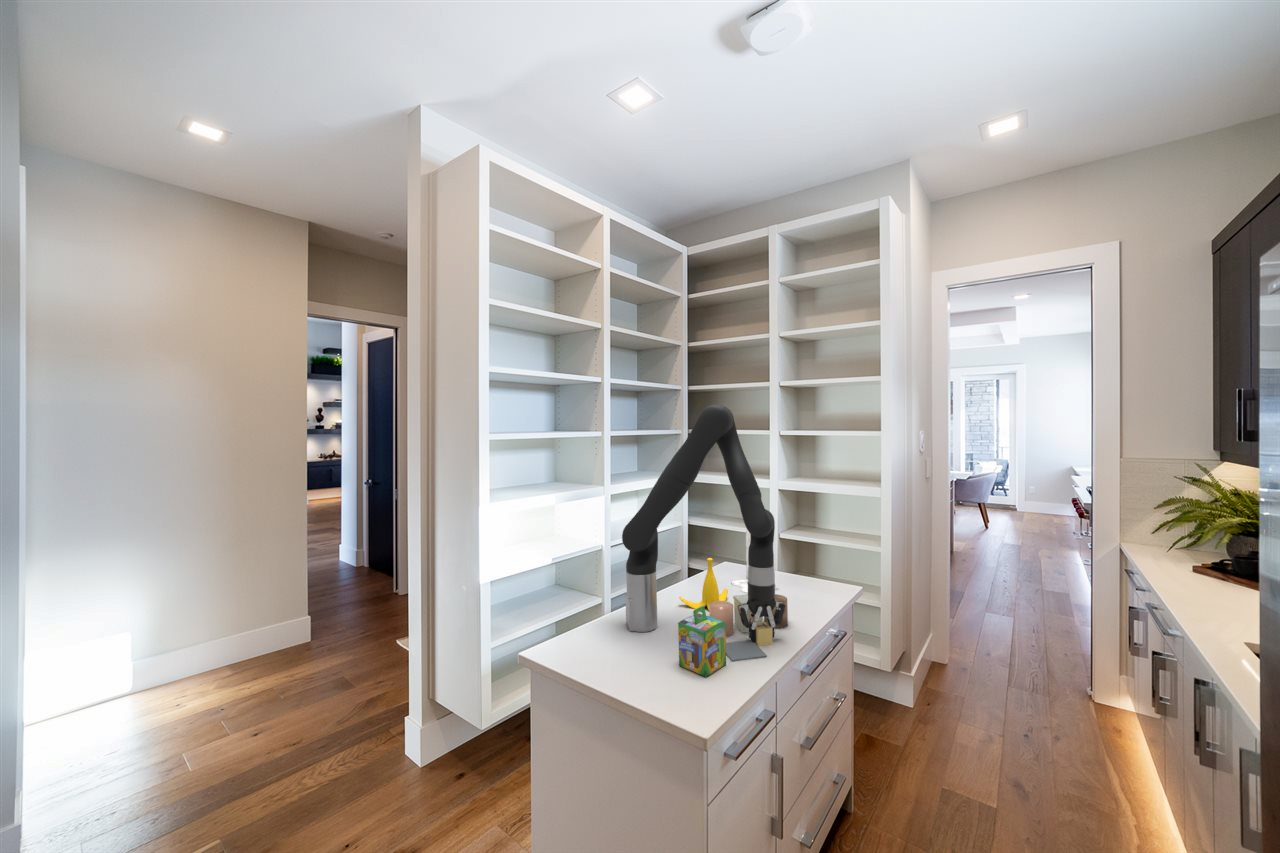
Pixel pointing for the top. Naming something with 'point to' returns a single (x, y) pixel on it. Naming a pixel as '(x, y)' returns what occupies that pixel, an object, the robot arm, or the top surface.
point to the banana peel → (708, 590)
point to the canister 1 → (723, 614)
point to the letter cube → (763, 634)
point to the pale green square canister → (739, 601)
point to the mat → (743, 650)
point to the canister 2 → (785, 615)
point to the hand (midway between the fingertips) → (761, 639)
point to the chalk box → (702, 643)
